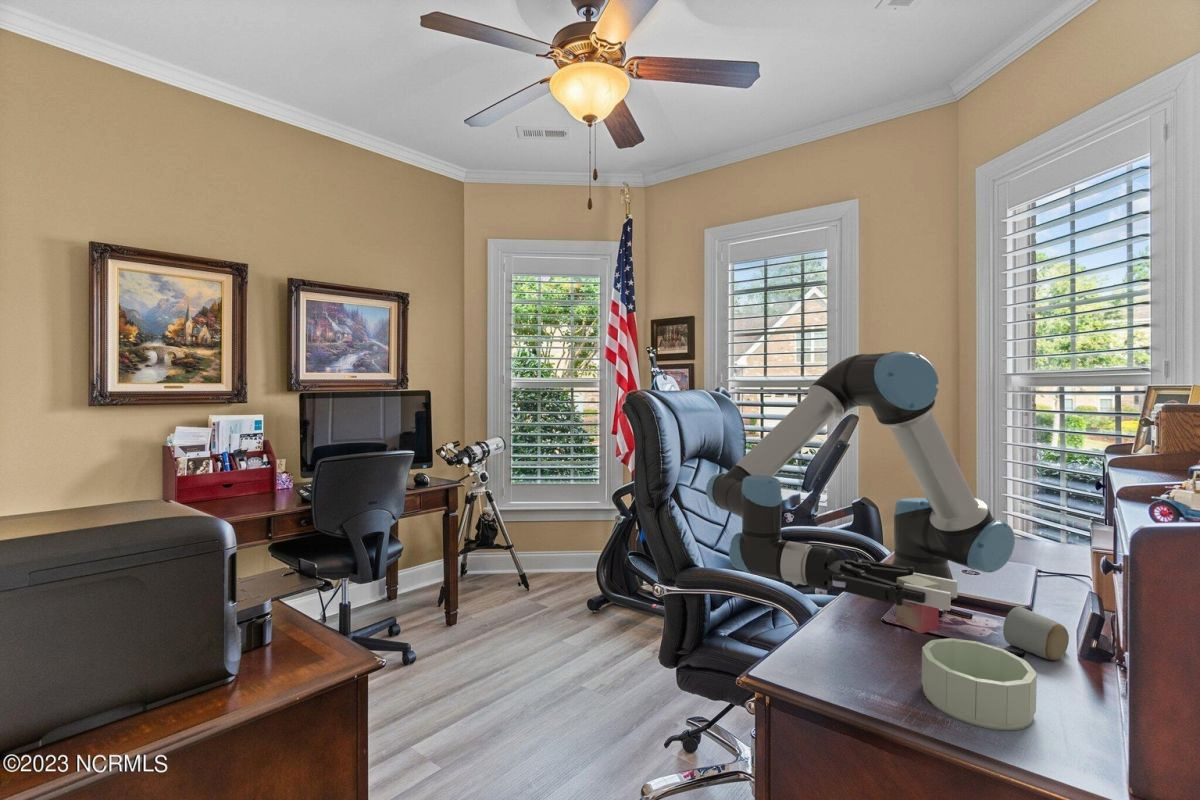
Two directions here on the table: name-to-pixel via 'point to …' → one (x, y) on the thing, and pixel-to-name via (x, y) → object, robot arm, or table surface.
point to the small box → (917, 608)
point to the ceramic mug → (1035, 634)
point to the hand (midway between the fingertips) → (953, 595)
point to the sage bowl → (979, 684)
